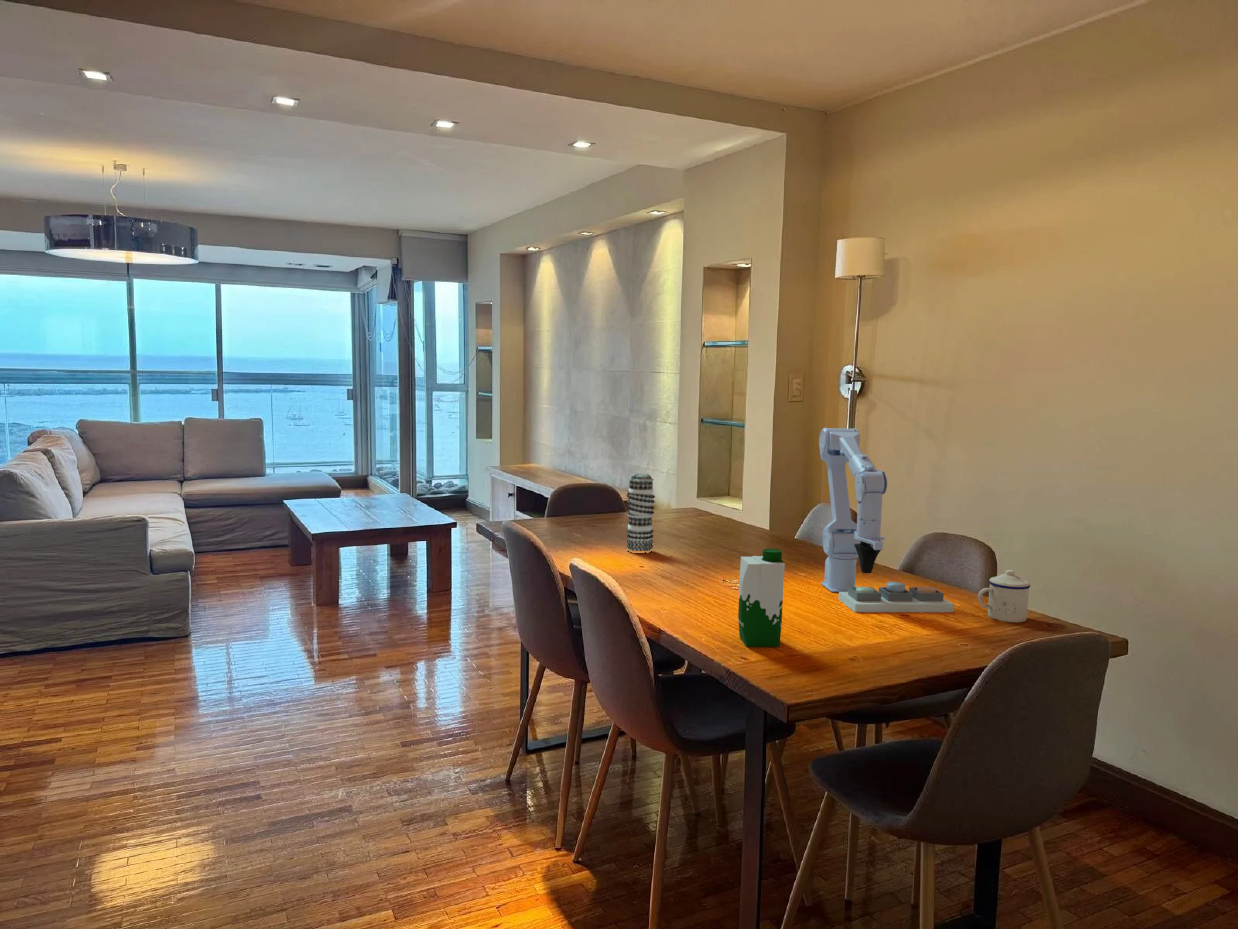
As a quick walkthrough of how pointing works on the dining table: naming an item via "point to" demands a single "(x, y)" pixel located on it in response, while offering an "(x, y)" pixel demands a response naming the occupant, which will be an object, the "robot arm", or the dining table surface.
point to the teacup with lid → (1007, 597)
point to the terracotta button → (926, 590)
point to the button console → (895, 601)
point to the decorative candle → (640, 512)
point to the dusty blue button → (895, 587)
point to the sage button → (864, 590)
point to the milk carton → (761, 599)
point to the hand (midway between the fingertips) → (866, 572)
